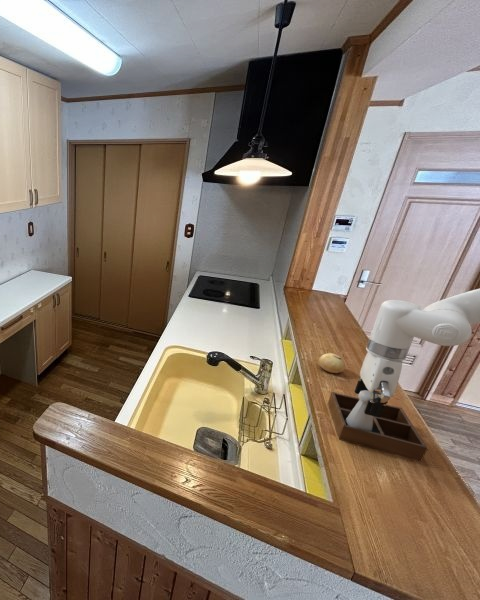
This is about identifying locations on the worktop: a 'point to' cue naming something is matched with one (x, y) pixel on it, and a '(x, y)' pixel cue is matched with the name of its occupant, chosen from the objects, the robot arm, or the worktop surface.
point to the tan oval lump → (331, 363)
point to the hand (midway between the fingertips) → (366, 404)
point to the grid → (378, 429)
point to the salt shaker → (361, 413)
